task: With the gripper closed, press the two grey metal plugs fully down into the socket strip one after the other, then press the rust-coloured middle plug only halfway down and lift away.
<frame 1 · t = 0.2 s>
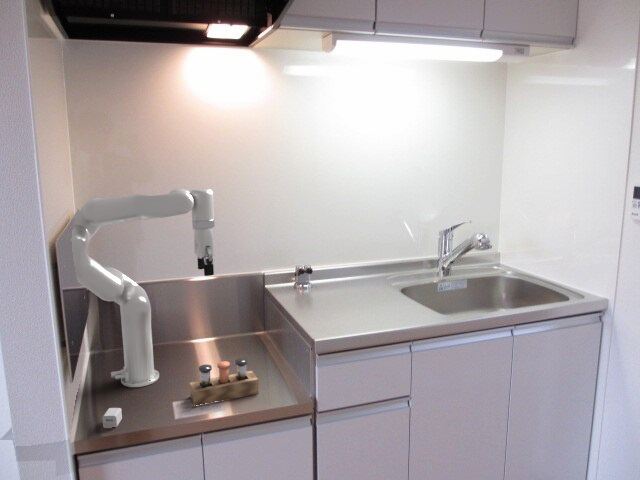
hand: (205, 272, 181), 36 cm above the countertop, tool pointing down, fingers open, 9 cm apart
rust plug: (223, 373, 167), point 8 cm above the countertop, slide at 0.0 cm
socket strip: (224, 394, 168), on the countertop
grey plug near: (205, 377, 164), point 8 cm above the countertop, slide at 0.0 cm
usb wall charger: (114, 422, 153), on the countertop
grey plug far: (241, 370, 169), point 8 cm above the countertop, slide at 0.0 cm
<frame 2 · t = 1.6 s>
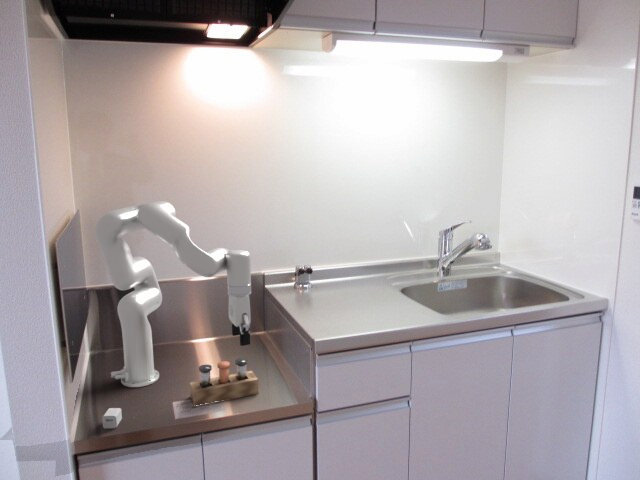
hand: (241, 339, 167), 18 cm above the countertop, tool pointing down, fingers open, 8 cm apart
nothing on the countertop moved.
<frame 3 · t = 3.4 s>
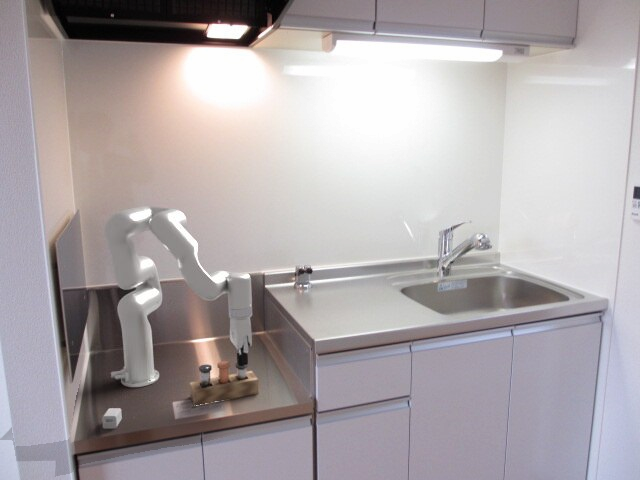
hand: (242, 363, 169), 10 cm above the countertop, tool pointing down, fingers closed
grey plug far: (241, 373, 170), point 6 cm above the countertop, slide at 1.2 cm, touching gripper
everything else where it was.
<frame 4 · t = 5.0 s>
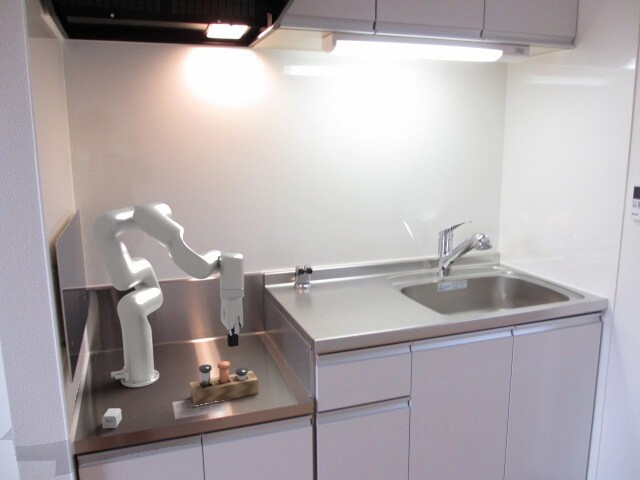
hand: (233, 345, 167), 17 cm above the countertop, tool pointing down, fingers closed
grey plug far: (242, 379, 170), point 4 cm above the countertop, slide at 3.5 cm
everything else where it was.
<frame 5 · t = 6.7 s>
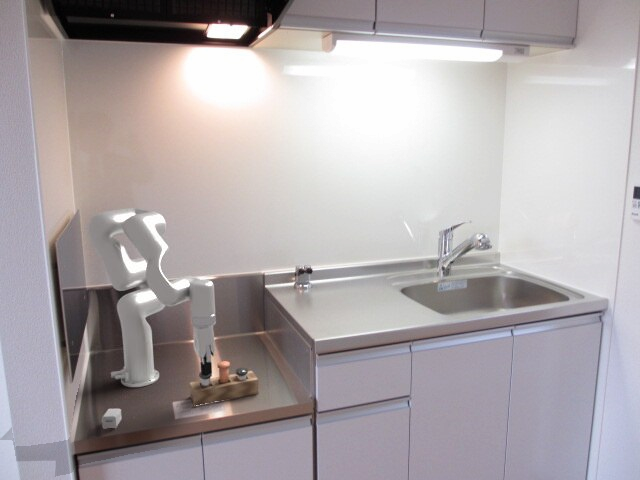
hand: (206, 373, 164), 9 cm above the countertop, tool pointing down, fingers closed
grey plug near: (205, 383, 165), point 5 cm above the countertop, slide at 2.2 cm, touching gripper
everything else where it was.
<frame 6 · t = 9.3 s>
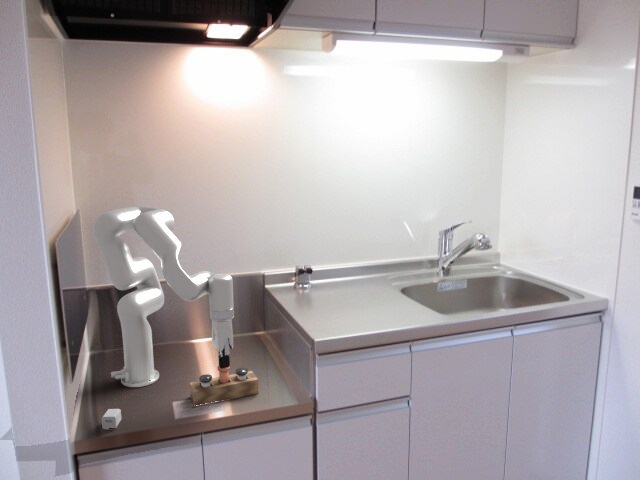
hand: (224, 366, 166), 10 cm above the countertop, tool pointing down, fingers closed
rust plug: (224, 376, 167), point 7 cm above the countertop, slide at 1.0 cm, touching gripper
grey plug near: (206, 387, 165), point 4 cm above the countertop, slide at 3.5 cm
everything else where it was.
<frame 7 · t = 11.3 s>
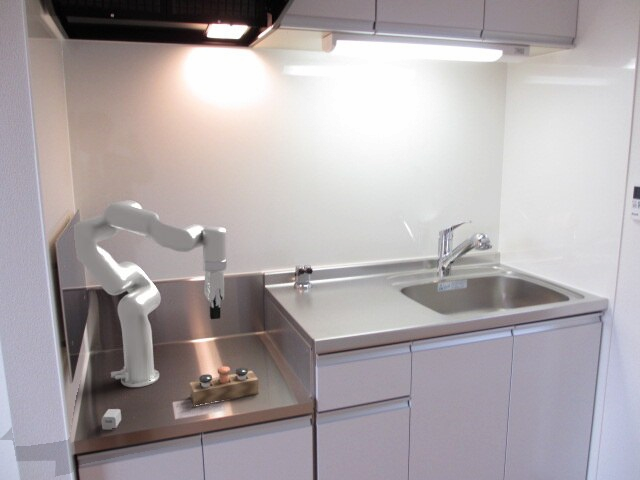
hand: (215, 317, 170), 24 cm above the countertop, tool pointing down, fingers closed
rust plug: (224, 378, 167), point 6 cm above the countertop, slide at 1.9 cm
everything else where it was.
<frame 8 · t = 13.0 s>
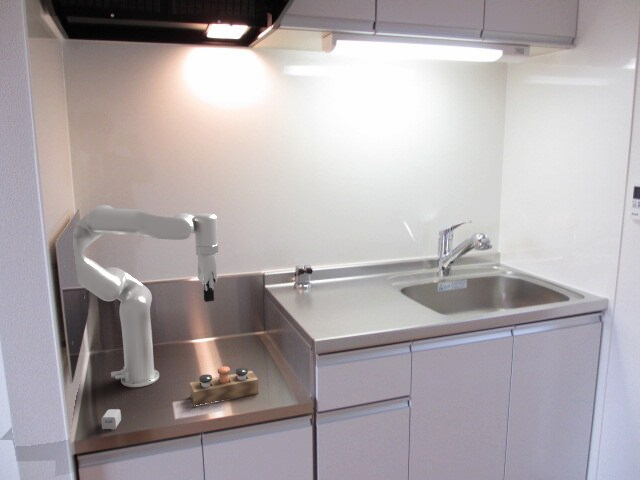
hand: (209, 300, 179), 27 cm above the countertop, tool pointing down, fingers closed
nothing on the countertop moved.
at the end: grey plug far slide at 3.5 cm; grey plug near slide at 3.5 cm; rust plug slide at 1.9 cm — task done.
